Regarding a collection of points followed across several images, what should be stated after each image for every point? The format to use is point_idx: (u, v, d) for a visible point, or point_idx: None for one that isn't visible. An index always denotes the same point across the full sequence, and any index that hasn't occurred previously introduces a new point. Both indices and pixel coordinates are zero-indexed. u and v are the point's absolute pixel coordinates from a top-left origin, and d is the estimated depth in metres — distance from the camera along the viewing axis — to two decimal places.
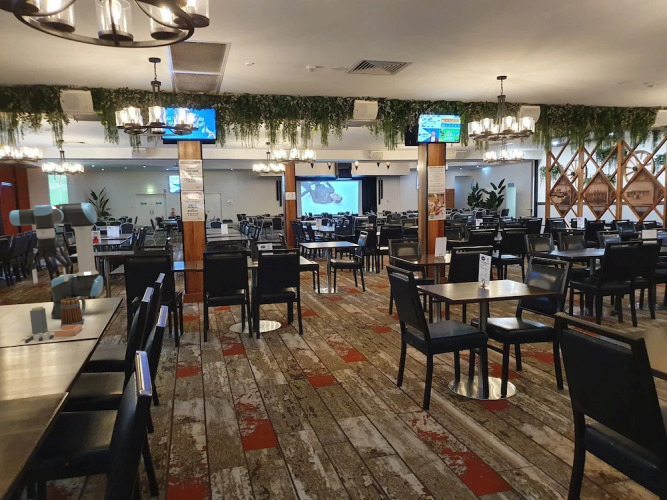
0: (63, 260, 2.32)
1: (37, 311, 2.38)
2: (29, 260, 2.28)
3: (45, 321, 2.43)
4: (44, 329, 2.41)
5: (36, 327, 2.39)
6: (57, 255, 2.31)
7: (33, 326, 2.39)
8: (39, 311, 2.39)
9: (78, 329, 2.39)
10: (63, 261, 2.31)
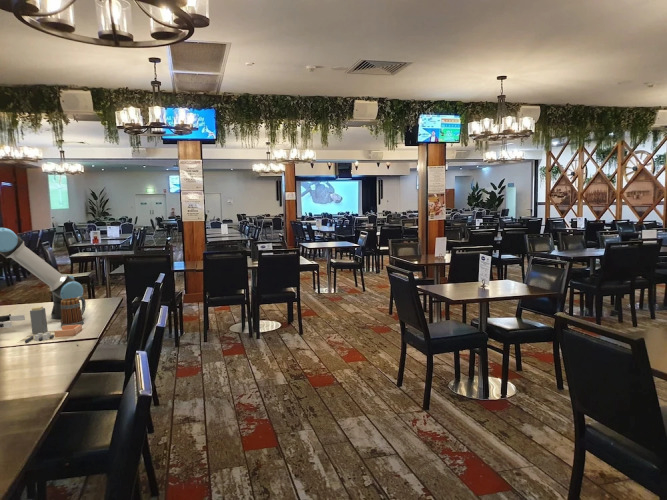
0: None
1: (37, 311, 2.38)
2: None
3: (45, 321, 2.43)
4: (44, 329, 2.41)
5: (36, 327, 2.39)
6: None
7: (33, 326, 2.39)
8: (39, 311, 2.39)
9: (78, 329, 2.39)
10: None
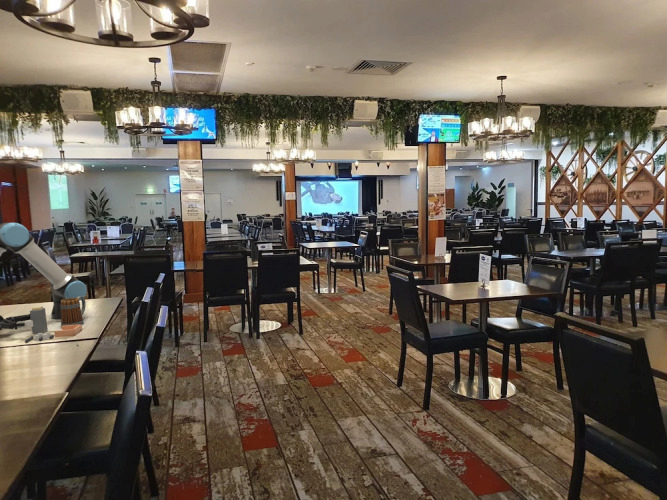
0: (10, 323, 2.33)
1: (37, 311, 2.38)
2: None
3: (45, 321, 2.43)
4: (44, 329, 2.41)
5: (36, 327, 2.39)
6: None
7: (33, 326, 2.39)
8: (39, 311, 2.39)
9: (78, 329, 2.39)
10: None
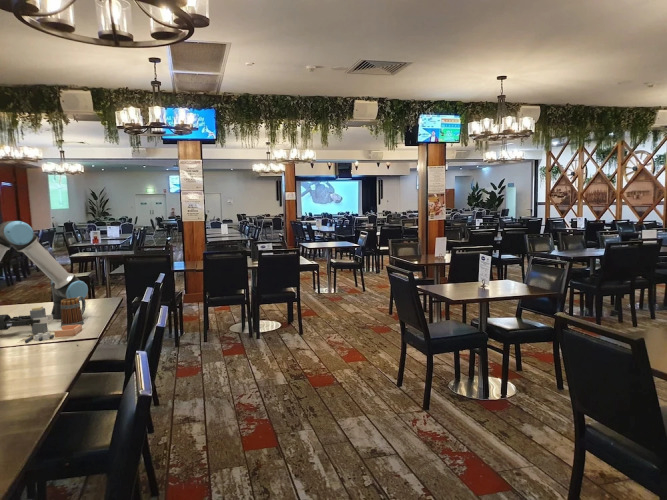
0: None
1: (37, 311, 2.38)
2: None
3: None
4: (44, 329, 2.41)
5: (36, 327, 2.39)
6: None
7: (33, 326, 2.39)
8: (39, 311, 2.39)
9: (78, 329, 2.39)
10: None
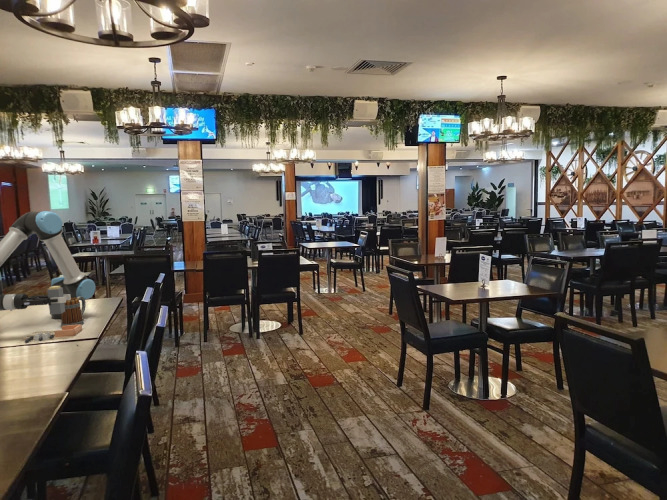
0: None
1: (55, 290, 2.33)
2: None
3: None
4: (62, 309, 2.36)
5: (54, 306, 2.34)
6: None
7: (50, 305, 2.33)
8: (56, 290, 2.33)
9: (78, 329, 2.39)
10: None
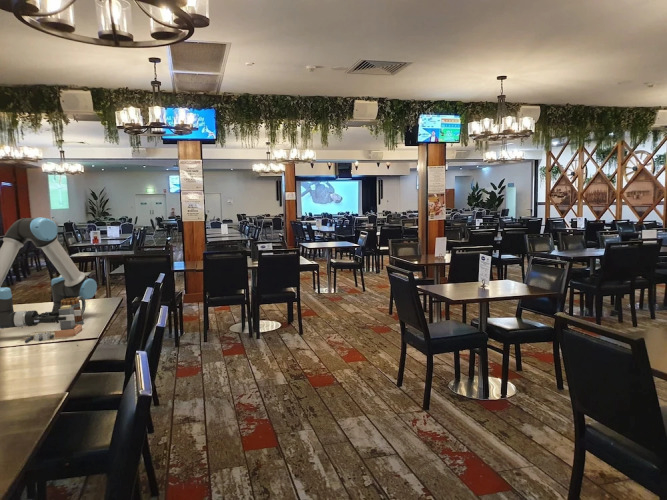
0: None
1: (66, 310, 2.35)
2: None
3: (73, 320, 2.40)
4: (72, 328, 2.38)
5: (65, 326, 2.36)
6: None
7: (62, 325, 2.35)
8: (67, 310, 2.35)
9: (78, 329, 2.39)
10: (51, 319, 2.32)
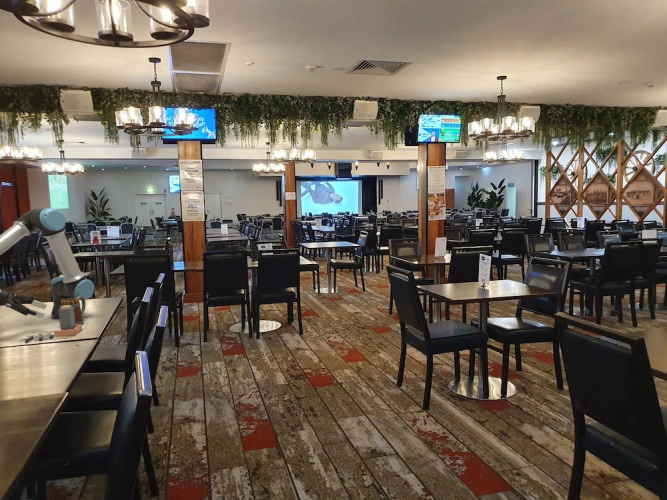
0: None
1: (66, 310, 2.35)
2: None
3: (73, 320, 2.40)
4: (72, 328, 2.38)
5: (65, 326, 2.36)
6: (16, 305, 2.32)
7: (62, 325, 2.35)
8: (67, 310, 2.35)
9: (78, 329, 2.39)
10: None
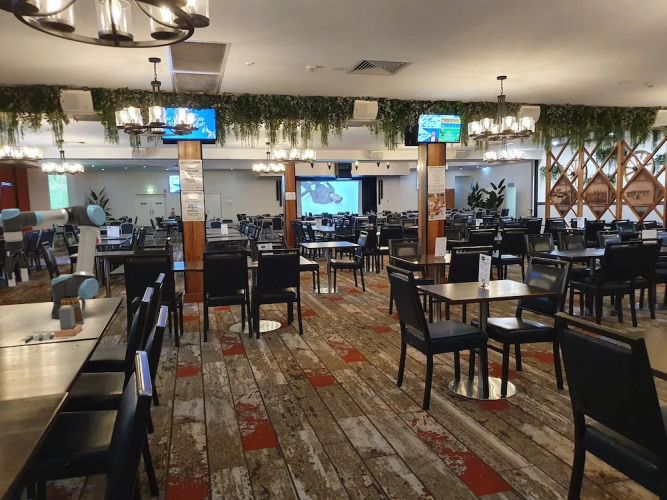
0: None
1: (66, 310, 2.35)
2: None
3: (73, 320, 2.40)
4: (72, 328, 2.38)
5: (65, 326, 2.36)
6: (12, 259, 2.33)
7: (62, 325, 2.35)
8: (67, 310, 2.35)
9: (78, 329, 2.39)
10: None
